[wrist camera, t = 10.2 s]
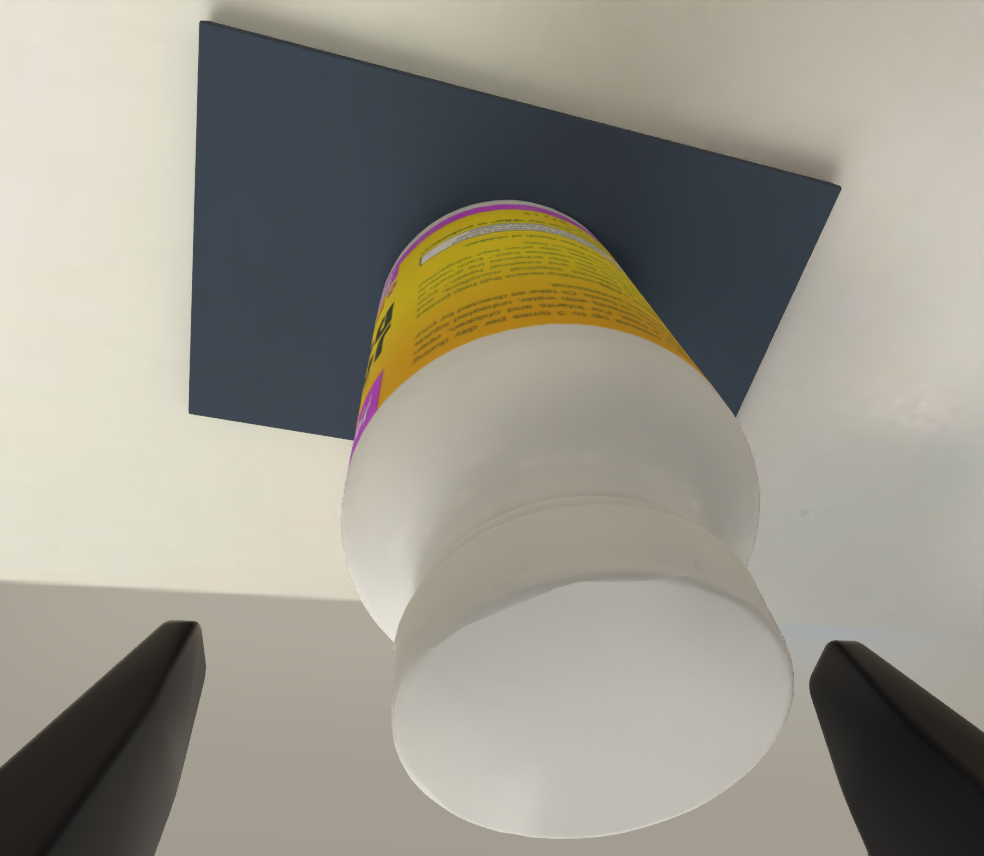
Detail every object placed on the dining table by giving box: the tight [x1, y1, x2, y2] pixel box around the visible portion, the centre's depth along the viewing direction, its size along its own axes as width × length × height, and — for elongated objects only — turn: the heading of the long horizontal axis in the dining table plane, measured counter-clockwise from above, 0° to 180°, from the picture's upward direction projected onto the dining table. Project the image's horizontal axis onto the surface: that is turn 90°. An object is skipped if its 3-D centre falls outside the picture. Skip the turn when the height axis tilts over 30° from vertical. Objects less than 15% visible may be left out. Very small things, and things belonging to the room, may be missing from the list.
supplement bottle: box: [341, 200, 794, 839], centre depth 13 cm, size 7×7×13 cm
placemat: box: [189, 21, 841, 440], centre depth 19 cm, size 16×10×1 cm, turn 77°
